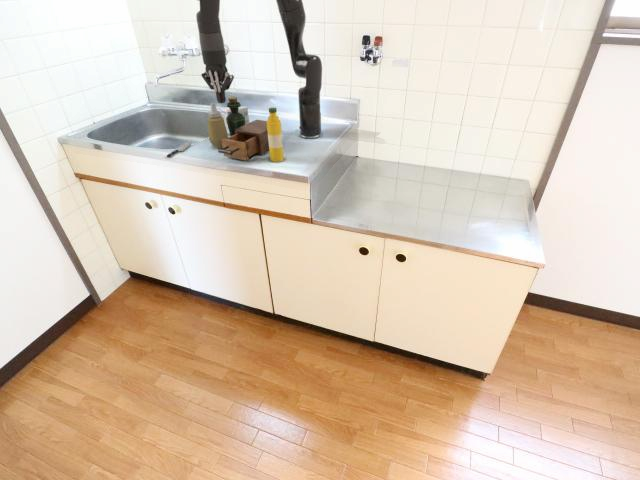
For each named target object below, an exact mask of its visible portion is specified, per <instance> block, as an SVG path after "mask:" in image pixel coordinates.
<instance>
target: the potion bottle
mask: <svg viewBox="0 0 640 480" xmlns="http://www.w3.org/2000/svg"><path fill="white" fill-rule="evenodd" d="M227 99H228V102H227V104H226V108H230V110H231V113H230V114H229V115H228V116H227V118H226V121H227V125H228V129H229V133H230V134H229V137H230V136H233V135H235V129H237V128H239V127H241V126H244V125H245V116H244V115H243V114H241V113H239V112H238V109H239V107H240V106H241V105H242V104H241V102H239V101H238V97H237V96H229V97H227Z"/></svg>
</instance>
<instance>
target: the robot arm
mask: <svg viewBox="0 0 640 480" xmlns="http://www.w3.org/2000/svg"><path fill="white" fill-rule="evenodd" d="M197 1H199V10H198V11H197V13H196V15H195V17H196V24H197V30H198V36H199V37H198V38H199V39H198V40H199V46H200V50H201V58H202V61H203V64H204V65H205V71H204V72H202V73H201V74H200V75H201V77H202V79H203V80H204V82H205V84H206V85H207V86H208V87H209V89H210V90H211V91H212V90H213V91H214V92H215V97H216V101H217V103H218V104H225V103H226V100H227V97H226V91H227V90H229V89H230V87H231V85H232V83H233V82H234V81H233V80H234V78H235V75H233V74H230V73H229V72H228V71H229V70H228V68H227V65H226V64H227V62H228V61H227V56H226V50H225V49H226V48H225V42H224V37H223V33H222V28H221V27H222V26H221V21H220V9H221V0H197ZM275 1H276V5H277V9H278V14H279V16H280V20H281V23H282V26H283V31H284V33H285V37H286V41H287V45H288V49H289V55H290V60H291V66H292V69H293V73H294V74H295V76H296V77H297V78H300V79H304V80H305V86H302V87H300V88H299V89H298V91H297V93H298V94H297V95H298V112H299V113H298V115H299V136H300V137H301V138H303V139H317V138H319V137H321V136H322V112H321V91H322V85H323V84H322V83H323V63H322V60H321V58H320V57H319V56H318V55H316V54H312V53H311V54H310V53H307V52H306V50H305V45H304V39H303V36H304V32H305V27H306V22H307V17H306V11H305V7H304V3H303V0H275Z"/></svg>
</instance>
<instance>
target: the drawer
mask: <svg viewBox="0 0 640 480" xmlns="http://www.w3.org/2000/svg"><path fill="white" fill-rule="evenodd" d="M221 140H222V146H223V148H217V152H218V153H220V154H223V156H224V157H228V158H232V159H237V160H241V161H245V162H247V161H249V158H250V157H252V156H254V155H256V154H255V153H257V152H259V143H258V136H256V135H250V134H245V133H237V134H235V135H233V136H230V135H229V136H228V138H227V139H225V138H223V139H221Z"/></svg>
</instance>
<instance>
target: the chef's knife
mask: <svg viewBox="0 0 640 480" xmlns="http://www.w3.org/2000/svg"><path fill="white" fill-rule="evenodd" d="M191 145H192V140H190V141H188V142H186V143H184V144H182V145H181V146H179V147H178V148H176V149H174V150H173V151H171V152H170V153H168V154H167V155H166V157H167V158H171V156H172V155H174V154H176V153H178V152H184V151H185V150H186V149H188V148H189V147H191Z"/></svg>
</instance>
